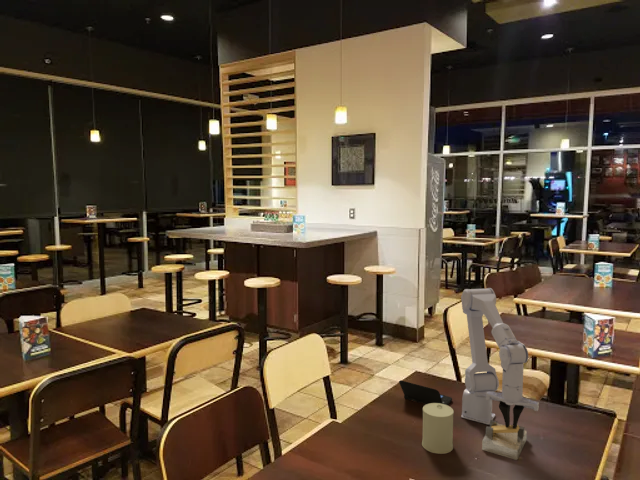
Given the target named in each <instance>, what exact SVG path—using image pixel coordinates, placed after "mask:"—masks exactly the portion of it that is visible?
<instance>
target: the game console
mask: <svg viewBox="0 0 640 480" xmlns="http://www.w3.org/2000/svg"><path fill="white" fill-rule="evenodd" d="M398 384H399V386H400V389H401V391H402V393H403V399H404V398H405V399H404V400H407V399H408V400H407V401H411V400H412V401H411V402H414V401H415V402H414V403H419V404H423V405H426V404H430V403H441V404H445V405H448V406H449V404H450V403H452V401H453V397H452V396H449V395H444V394H442V393H440V391H439V390H438V389H436V388H432V387H429V386H424V385H421V384H418V383H417V384H416V383H412V382H409V381H406V380H405V381H404V380H399V381H398Z"/></svg>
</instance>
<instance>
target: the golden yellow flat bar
mask: <svg viewBox="0 0 640 480" xmlns="http://www.w3.org/2000/svg"><path fill="white" fill-rule="evenodd" d="M519 426H520V425H519V424H517V427H516V428H515V429H513V424H510V425H509V427H508V428H507V427H506V425H505V424H502V426H491V428H493V433H517V432H518V430H519Z"/></svg>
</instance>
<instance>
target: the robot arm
mask: <svg viewBox="0 0 640 480" xmlns="http://www.w3.org/2000/svg"><path fill="white" fill-rule="evenodd" d="M460 297H461V308H462V313H463V314H464V315H466V320H467V321H466V322H467V328H468V331H467V332H468V337H469V346H470V354H471V364H470V365H469V366H467V368H466V369H465V370H464V371H465V372H464V376H465V377H464V385H465V389H464V390H463V393H462V399H461V414H460V415H461V418H462V419H466V420H470V421H473V422H477V423H481V424H484V425H489V426H490V420H494V418H495V417H496V414H495V413H493V401H495V402H496V401H497V402H499V404H498V408H499V410H500V412H501V414H502V417H503V420H504V425H506V427H507V428H508V427H509V425H511V419H510V418H511V416H510V415H511V406H513V408H512V413H513V414H512V415H513V417H512V418H513V422H512V425H513V429H515V428H516V427H517V425H518V422H519V419H520V416H521V414H522V413H523V411H524V410H525V409H526V408H527V409H531V410H533V411H535V412H538V411H539V407H540V406H539V405H540V402H539V401H535V400H532V399H529V398H526V397H523V393H524V391H523V390H524V389H523V388H524V369H525V368H524V364H526V363H527V362H528V360H529V351H528V348H527V347H526V344H524V343H522V342H521V341H520V340H517V338H516V336H515V334H514V333H513V330H512V329H511V327H510V326H509V324H507V323H504V321H503V319H502V317H501V315H500V312H499V310H498V308H497V305H496V304H497V296H496V293H495V291H494V289H493V288H491V287H487V288H471V289H470V288H464V290H463V291H462V293H461V296H460ZM483 316H484V317H485V318H486V320H487V321H488V323H489V324H490V326H491V328H492V329H491V335H492V337H493V339H494V340H495V343H496V344H497V346H498V349H499V351H498V356H499V359H500V367H501V369H502V379H501V380H502V381H501V388H502V389H501V392H496V391H498V389H499V387H500V382H499V378H498V374H497V370H496V368H495V367H494V366H492V365H491V364H490V363H489V362H488V361H489V360H488V356H487V355H488V354H487V347H486V346H487V345H486V339H485V331H484V322H483V321H484V320H483ZM524 408H525V409H524Z"/></svg>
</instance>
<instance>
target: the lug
mask: <svg viewBox="0 0 640 480" xmlns="http://www.w3.org/2000/svg"><path fill="white" fill-rule="evenodd" d="M525 429H526V428H525V426H521V425H519V430H518V436H521V437H523V436H524V430H525Z"/></svg>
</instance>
